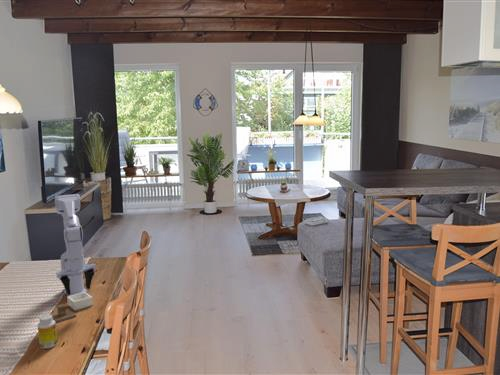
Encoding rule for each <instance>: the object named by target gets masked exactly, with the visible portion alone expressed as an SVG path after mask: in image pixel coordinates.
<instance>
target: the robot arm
mask: <svg viewBox="0 0 500 375" xmlns="http://www.w3.org/2000/svg"><path fill="white" fill-rule="evenodd" d="M80 197H81V196H80V194H79V193H74V194H62V195H55V196H54V205H55V206H54V207H55V213H57V215H61V216H62V218H63V220H62V221H63V222H62V223H63V228H64V229H63V237H64V238H63V239H64V242H65V250H66V251H65V252H64V253H62V254H61V255H60V270H61V271H58V272H56V279H58V280H60V281H61V283H62V285H63V289H62V290H61V291H62V292H63V291H64V292H63V293H64V294H66V295H67V297H68V296H71V295H75V294H79V293H82V292H86V293H87V292H88V290H91V284H92V280H93V277H94V276H95V274H96V272H95V270H97V265H96V264H95V263H91V264H86V261H85V260H86V259H85V255H84V250H83V248H84V247H83V241H84V233H83V227H82V225H81V224H80V219H79V216H77V215H76V213H78V212H80V210H81V198H80ZM84 280H85V283H84ZM84 284H85V285H84Z"/></svg>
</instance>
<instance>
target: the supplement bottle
mask: <svg viewBox="0 0 500 375" xmlns="http://www.w3.org/2000/svg"><path fill="white" fill-rule="evenodd" d="M56 324H57V323H55V321H54V320H53V318H52V315H49V314H44V315H42V316H40V317H39V322H38V324H37V332H38V341H39V342H38V343H39V347H40V348H41V349H50V348H53V347H55V346H56V345H57V344H58V336H57V334H58V333H57V325H56Z"/></svg>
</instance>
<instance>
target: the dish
mask: <svg viewBox="0 0 500 375" xmlns="http://www.w3.org/2000/svg"><path fill="white" fill-rule="evenodd" d="M66 299H67V300H66V301H67V306H68V307H69V309H71V310H72V311H73V312H76V311H79V310H82V309H87V308H89V307H92V306H94V302H93V296H92V295H90V294H89V293H87V292H82V293H79V294H75V295H71V296H68V295H67V297H66Z"/></svg>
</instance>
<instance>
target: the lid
mask: <svg viewBox="0 0 500 375" xmlns="http://www.w3.org/2000/svg"><path fill="white" fill-rule="evenodd" d="M56 307H57V311H55V312H52V313H48V315H52V318H53V320H54V321H55V323H56V324H57V322H58V323H61V322H64V321H67V320H70V318H71V319H73V317H74V318H77V317H76V316H77V314H76V313H75V311H74V310H72V309H71V308H70V307H69V308H67V306H66V304H64V303H62V304H58V305H57V306H56ZM63 320H64V321H63ZM60 321H61V322H60Z"/></svg>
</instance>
